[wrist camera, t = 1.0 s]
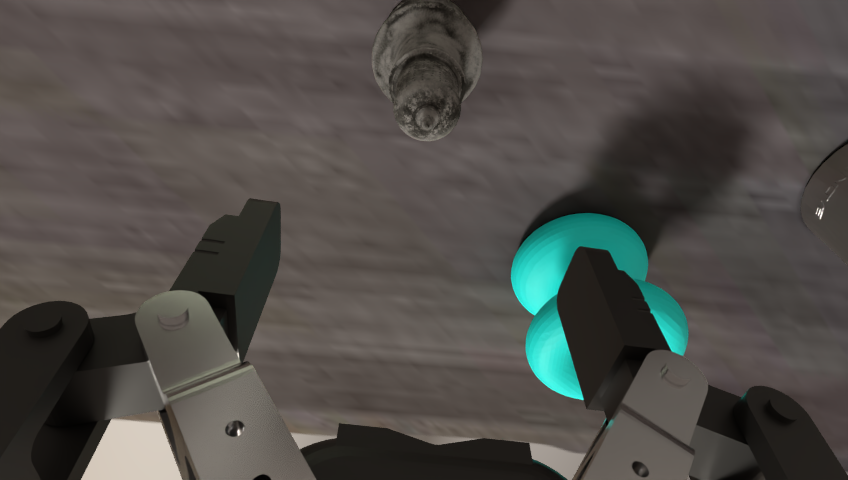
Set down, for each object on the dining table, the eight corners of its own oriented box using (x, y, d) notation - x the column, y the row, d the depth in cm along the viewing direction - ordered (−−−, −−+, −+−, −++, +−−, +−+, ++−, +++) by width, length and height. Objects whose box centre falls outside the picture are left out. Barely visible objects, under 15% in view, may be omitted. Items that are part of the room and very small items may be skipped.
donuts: (592, 427, 35) (496, 362, 31) (561, 323, 43) (482, 261, 39) (727, 358, 31) (636, 272, 27) (665, 257, 39) (588, 179, 35)
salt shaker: (385, -24, 27) (363, 34, 18) (489, 1, 28) (522, 69, 18) (370, 81, 31) (343, 177, 21) (463, 100, 31) (478, 202, 22)
